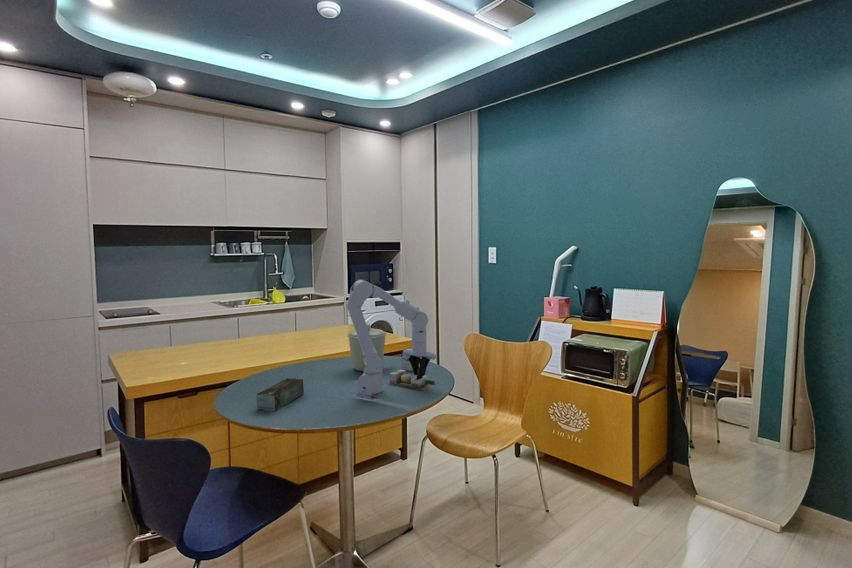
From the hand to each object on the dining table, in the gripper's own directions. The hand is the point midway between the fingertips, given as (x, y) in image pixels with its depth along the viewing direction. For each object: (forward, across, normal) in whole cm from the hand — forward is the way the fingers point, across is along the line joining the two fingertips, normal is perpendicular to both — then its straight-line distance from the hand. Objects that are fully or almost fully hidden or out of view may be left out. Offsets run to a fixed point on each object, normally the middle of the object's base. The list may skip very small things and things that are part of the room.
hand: (419, 375), depth 179 cm
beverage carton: (+6, +36, +38) cm, 53 cm away
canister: (+6, +37, -13) cm, 40 cm away
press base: (+6, +4, 0) cm, 7 cm away
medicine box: (+6, +16, -18) cm, 25 cm away
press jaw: (+4, 0, 0) cm, 4 cm away
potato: (+4, +7, 0) cm, 8 cm away
